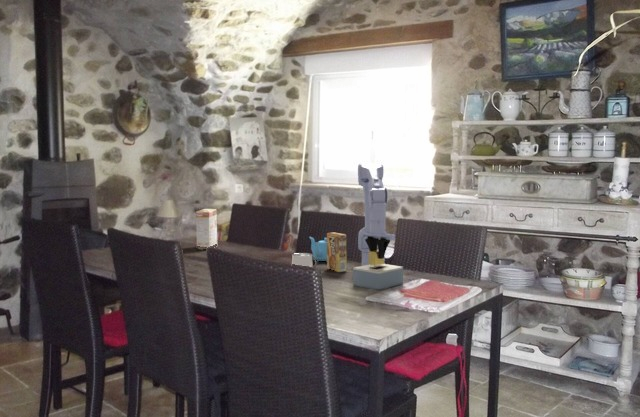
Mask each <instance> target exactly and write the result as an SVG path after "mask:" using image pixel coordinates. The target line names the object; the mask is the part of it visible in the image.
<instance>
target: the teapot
mask: <svg viewBox="0 0 640 417" xmlns="http://www.w3.org/2000/svg"><path fill="white" fill-rule="evenodd" d="M308 238H309V239H310V241H311V245H310V249H311V252H312V253H311V254H312V256H313V257H314V258H315V259H316V260H317V262H319V261H326V262H325V263H327V237H324V238H323V239H324V240H319V241H318V242H317V241H315V238H314V237H312V236H309V237H308Z"/></svg>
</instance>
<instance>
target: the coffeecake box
mask: <svg viewBox="0 0 640 417" xmlns="http://www.w3.org/2000/svg"><path fill="white" fill-rule="evenodd" d="M217 211H218V210H217V208H203V209H200V210H197V211H195V219H196V220H195V223H196V224H195V225H196V227H195V228H196V229H195V230H196V247H197V246H200V247H207V248H208V247H210V246H213V245H215V244H217V245H218V223H217V220H218V215H217Z"/></svg>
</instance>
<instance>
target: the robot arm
mask: <svg viewBox="0 0 640 417" xmlns="http://www.w3.org/2000/svg"><path fill="white" fill-rule="evenodd" d="M383 178H384V165H383V164H382V163H359V164H358V166H357V180H358V181H357V182H358V186H361V187H362V188H363V194H364V197H363V199H364V202H363V203H364V226H363V228H361V229H360V230H359V232H358V237H357V239H358V240H357V245H358V246H357V248H358V250H359V251H361V266H364V265H369V251H373V250H378V255H379V259H383V258H384V264H386V263H385V261H386V260H385V259H386V258H385V255H386V251H387V248H388V246H389V245H390V243H391V241H395V240H396V234H392V233H388V232H387V231H386V222H387V220H386V218H387V217H386V215H387V214H386V213H387V210H386V209H387V208H386V207H387V206H386V205H387V203H388V199H389V198H388V196H389V195H388V189H387V187H384V184H383Z"/></svg>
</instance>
